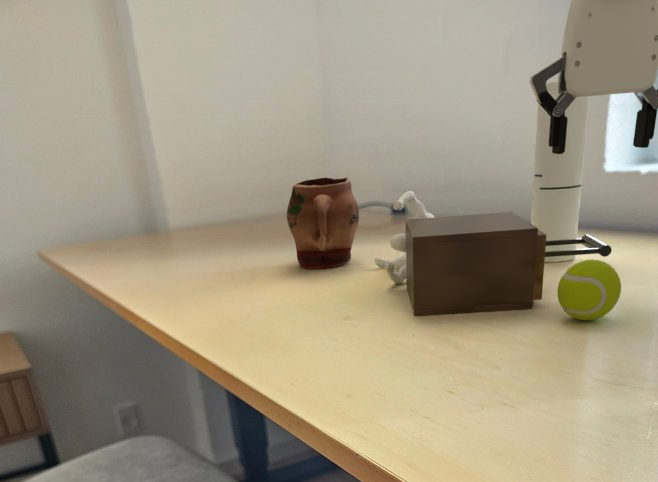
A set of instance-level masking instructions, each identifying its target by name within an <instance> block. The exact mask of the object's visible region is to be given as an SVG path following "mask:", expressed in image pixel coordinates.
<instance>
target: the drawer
mask: <svg viewBox="0 0 658 482" xmlns="http://www.w3.org/2000/svg"><path fill="white" fill-rule="evenodd" d="M569 244H576V245H580V244H581V245H582V246H584V247H586V248H576V249H574V250H559V251H545V249H546V246H554V245H569ZM611 253H612V246H611V245H610V244H608V243H605V242H603V241H602V240H600V239H597V238H596V237H594V236H592V235H590V234H584V235H583V236H582V237H579V238H577V239H564V240H550V241H546V234H545V233H543V232H541V231H540V230H538V235H537V249H536V264H535V279H534V293H533V301H541V300H542V299H543V286H544V272H545V263H546V262H545V257H554V256H569V255H575V256H580V255H582V256H583V255H597V254H598V255H599V256H600V257H603V258H607V257H608V256H610V255H611Z"/></svg>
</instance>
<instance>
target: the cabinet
mask: <svg viewBox="0 0 658 482" xmlns="http://www.w3.org/2000/svg"><path fill="white" fill-rule="evenodd" d="M434 217H435V216H434ZM405 232H406V253H405V254H406V274H407V278H406V290H407V296H408V298H409V302H410V306H411V309H412V314H413V316H414V317H420V316H434V315H437V316H439V315H452V314H469V313H482V312H483V313H484V312H485V313H486V312H500V311H517V310H532V309H533V306H534V303H533V302H534V300H533V293H534V279H535V264H536V249H537V235H538V228H537V227H535V226H534V225H532V224H531V222H529V221H528V220H526V219H524V218H523V217H522V216H519V214H517V213H515V212H514V211H503V212H491V213H477V214H464V215H463V214H462V215H452V216H451V215H450V216H448V215H447V216H436V217H435V218H421V219H413V218H408V219H405Z"/></svg>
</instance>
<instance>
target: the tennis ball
mask: <svg viewBox="0 0 658 482" xmlns="http://www.w3.org/2000/svg"><path fill="white" fill-rule="evenodd" d="M556 292H557V300H558V303H559V305H560V307H561V308H562V310H563V311H564V312H565V313H566V314H567V315H568V316H570V317H572V318H573V319H576V320H579V321H593V320H597V319H600V318H602V317H605V316H606V315H607V314H609V313H610V312H611V311H612V310H613V309H614V307H615V306H616V305H617V304H618V302H619V300H620V297H621V293H622V283H621V278H620V276H619V274H618V272H617V271H616V269H615V268H614V267H613V266H612V265H611V264H609V263H607V262H605V261H603V260H599V259H586V260H581V261H579V262H577V263H574V264H573V265H571V266H570V267H569V268H568V269H567V270H565V272H564V274H563V275H562V276H561V277H560V279H559V282H558V285H557V291H556Z"/></svg>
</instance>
